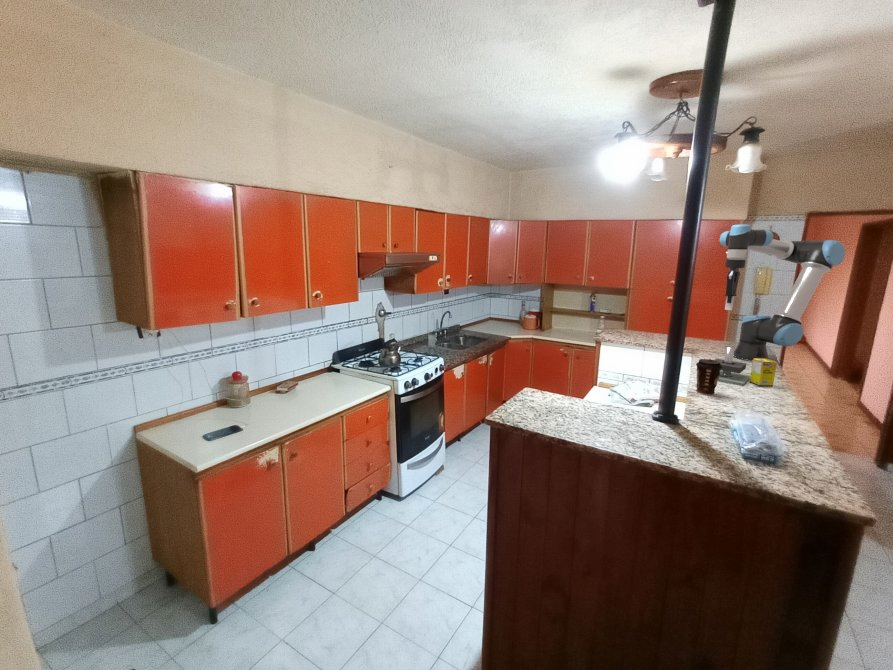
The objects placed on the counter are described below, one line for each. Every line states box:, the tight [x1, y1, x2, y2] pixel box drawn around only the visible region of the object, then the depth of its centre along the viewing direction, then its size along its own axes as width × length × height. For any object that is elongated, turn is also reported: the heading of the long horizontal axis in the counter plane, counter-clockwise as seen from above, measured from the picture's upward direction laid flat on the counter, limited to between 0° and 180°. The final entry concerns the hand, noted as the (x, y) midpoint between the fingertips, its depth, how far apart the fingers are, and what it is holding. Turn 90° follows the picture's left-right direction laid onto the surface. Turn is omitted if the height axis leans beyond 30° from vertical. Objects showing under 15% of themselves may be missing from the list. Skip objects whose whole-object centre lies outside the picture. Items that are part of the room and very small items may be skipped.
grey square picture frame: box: [714, 358, 747, 374], centre depth 186 cm, size 11×11×2 cm
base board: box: [718, 370, 751, 387], centre depth 187 cm, size 16×16×1 cm
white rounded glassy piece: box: [720, 346, 736, 377], centre depth 186 cm, size 4×4×13 cm
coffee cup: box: [695, 358, 722, 396], centre depth 166 cm, size 9×8×13 cm
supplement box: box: [748, 358, 778, 388], centre depth 177 cm, size 6×6×11 cm
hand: (728, 309), depth 198 cm, fingers closed
